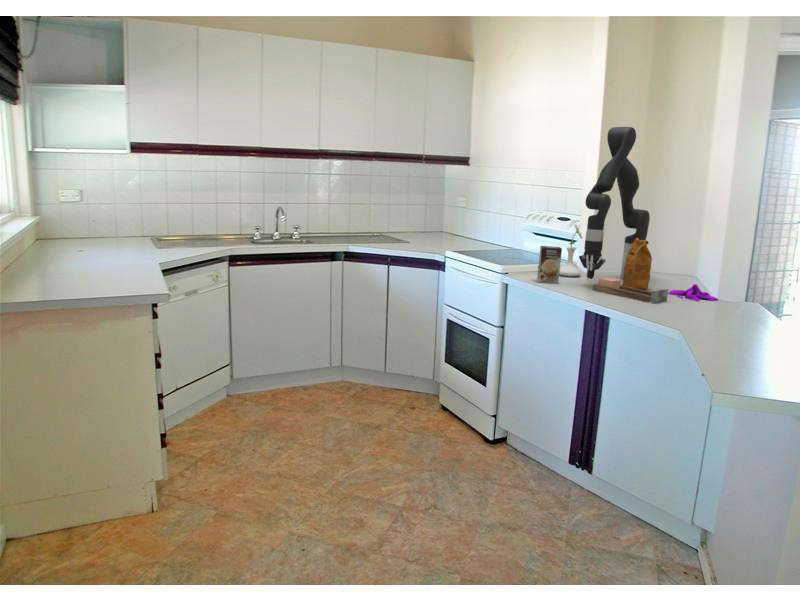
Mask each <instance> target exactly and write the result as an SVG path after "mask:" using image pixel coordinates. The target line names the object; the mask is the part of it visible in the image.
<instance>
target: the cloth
mask: <svg viewBox="0 0 800 600" xmlns="http://www.w3.org/2000/svg"><path fill="white" fill-rule="evenodd" d="M668 294H669V296H676V297H677V298H679V299H686V300H690V301H694V302H701V300H705V301H708V302H715V301H719V299H718V298H717V297H715V296H711V295H710V294H709V293H708V292H707V291H702V290H701V289H700V287H699V286H698V284H697V283H694V284H692V286H691V287H690V288H688V289H686V290H684V289H683V290H682V289H672V290H670V291H668Z"/></svg>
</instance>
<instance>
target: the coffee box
mask: <svg viewBox="0 0 800 600" xmlns="http://www.w3.org/2000/svg"><path fill="white" fill-rule="evenodd" d="M562 251H563V248H562V247H560V246H553V245H552V246H547V245H540V248H539V256H538V265H537V267H538V269H537V277H536V280H537V282H538V283H545V284H546V283H547V284H559V281H560V274H559V272H560V267H561V262H562V260H561V259H562Z"/></svg>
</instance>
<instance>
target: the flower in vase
mask: <svg viewBox="0 0 800 600" xmlns="http://www.w3.org/2000/svg"><path fill="white" fill-rule="evenodd" d="M574 227H575V233H574V234H573V235H572V238H571V241H570V242H569V245H570V246H566V247H565V248H566V250H567V261H566V263H565V264H563V265H562V266H560V272H559V276H560V275H561V276H565V277H577V276H580V275H581V274H582V271H581V270H580V269H579V268H578V267H577V266H576V265H575V264H574V261H573V259H574V253H575V250H577V247H575V246H573V245H575V241H574V237H575V235H576V234H577V235H578V236H579V238H580V239H583V236H582V233H581V232H580V229H579V227H578V225H577V223H575V224H574Z"/></svg>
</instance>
